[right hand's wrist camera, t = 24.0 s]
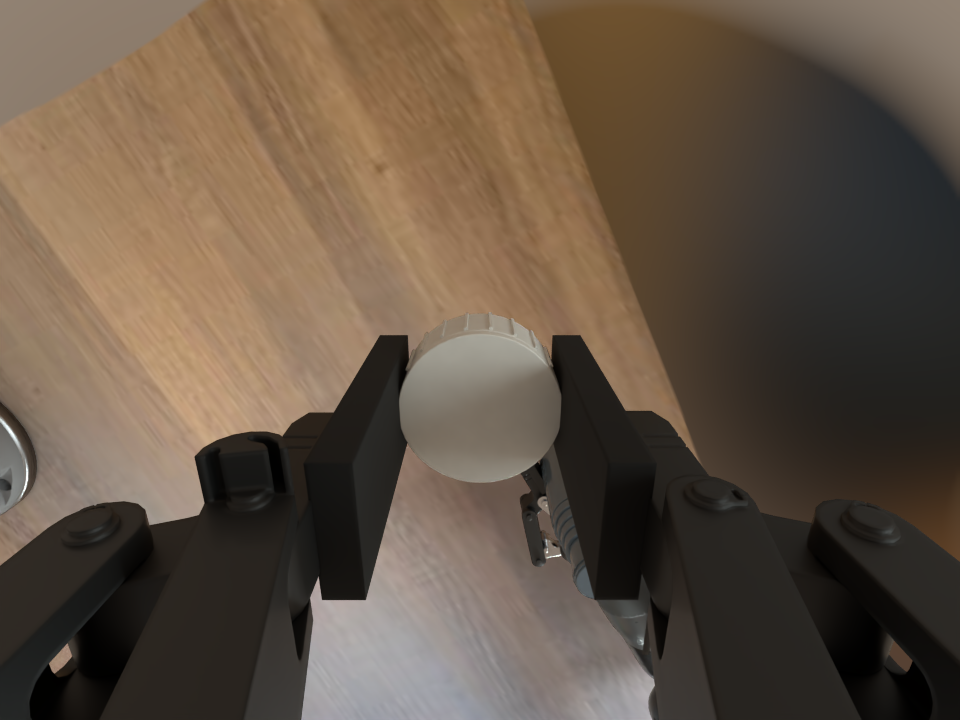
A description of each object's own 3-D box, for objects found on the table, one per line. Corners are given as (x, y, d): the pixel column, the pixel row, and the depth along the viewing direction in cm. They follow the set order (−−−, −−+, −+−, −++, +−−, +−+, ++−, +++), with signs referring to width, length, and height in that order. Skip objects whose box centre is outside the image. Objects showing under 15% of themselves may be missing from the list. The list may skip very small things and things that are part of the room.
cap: (440, 285, 13) (434, 302, 12) (581, 347, 14) (595, 373, 12) (384, 415, 15) (371, 449, 13) (515, 467, 15) (519, 506, 14)
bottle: (579, 408, 49) (640, 555, 30) (573, 448, 50) (628, 610, 32) (535, 405, 48) (568, 551, 30) (530, 445, 50) (560, 606, 32)
